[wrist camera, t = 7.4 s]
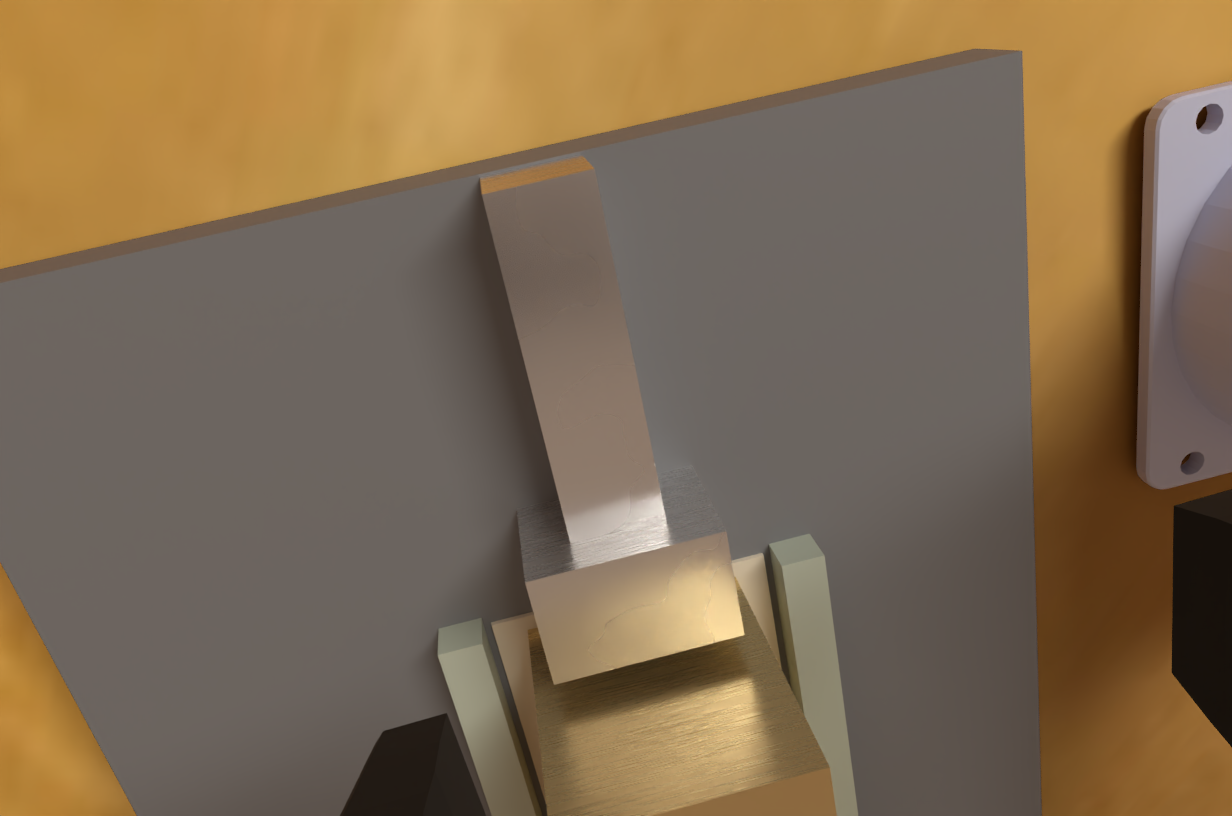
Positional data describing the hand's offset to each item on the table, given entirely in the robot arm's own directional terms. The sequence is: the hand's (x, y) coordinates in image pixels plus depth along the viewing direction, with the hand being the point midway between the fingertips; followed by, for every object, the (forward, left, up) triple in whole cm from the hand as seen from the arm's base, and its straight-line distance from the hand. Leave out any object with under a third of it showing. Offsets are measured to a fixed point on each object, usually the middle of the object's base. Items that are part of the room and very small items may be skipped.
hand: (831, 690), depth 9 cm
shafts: (+1, +8, -8) cm, 11 cm away
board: (+2, +8, -9) cm, 12 cm away
